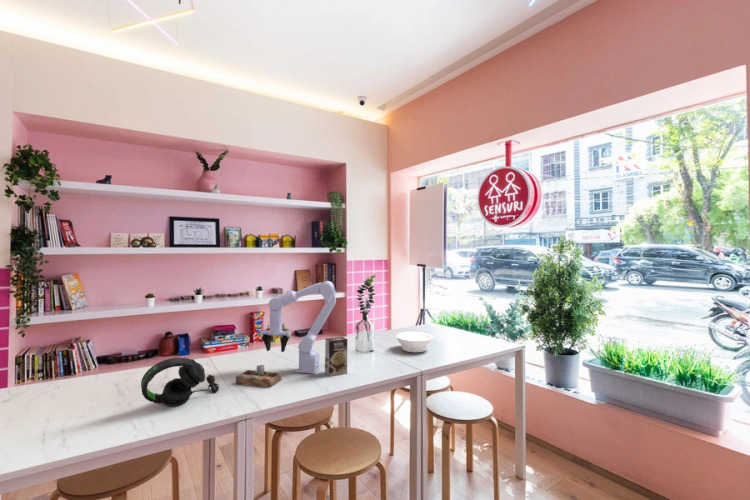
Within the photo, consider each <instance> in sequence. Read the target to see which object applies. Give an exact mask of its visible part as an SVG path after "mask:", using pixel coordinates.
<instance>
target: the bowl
mask: <svg viewBox="0 0 750 500" xmlns="http://www.w3.org/2000/svg"><path fill="white" fill-rule="evenodd" d="M395 337H396V340H397V342H398V343H399V344H400V345H401V348H402V350H403V351H405V352H409V353H422V352H423V353H424V352H425V351H426V350H427V348H428V346H429V344H430V343H431V342H432V340H433V337H434V336H433V335H431V334H429V333H426V332H419V331H405V332H400V333H397V334H396V336H395Z"/></svg>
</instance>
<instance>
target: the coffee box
mask: <svg viewBox="0 0 750 500" xmlns="http://www.w3.org/2000/svg"><path fill="white" fill-rule="evenodd" d="M324 339H325V344H324V346H325V347H324V348H325V349H324V356H325V357H324V373H325V374H326V375H327V376H328V377H334V376H340V375H344V374H345V375H346V374H348V338H346V337H343V336H336V337H328V338H324Z"/></svg>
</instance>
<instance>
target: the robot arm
mask: <svg viewBox="0 0 750 500" xmlns="http://www.w3.org/2000/svg"><path fill="white" fill-rule="evenodd" d="M310 294H318V295H319V294H320V295H321V296H322V297H323V299H324V305H323V307H322V308H321V311H320V312H319V314H318V315H317V317H316V319H315V320H314V322H313V324H312V326H311V327H310V329H309V330H308V332H307V334H305V335H304V336H303V337H302V338H301V341H300V342H299V344H298V368H297V369H296V370H295V373H303V374H304V373H305V374H316V373H317V372H318V371H319V370H320V369H321V366H320V365H321V364H320V353H319V352H316V351H315V348H314V347H313V346H314V345H315V340H316V338H317V337H318V335H319V333H320V332H321V329H322V328H323V326H324V325H325V323H326V321H327V319H328V318H329V316H330V315H331V312H332V311H333V309H334V308H335V306H336V304H337V300H336V299H337V297H336V295H337V294H336V288H335V286H334V283H333V282H332V281H330V280H324V281H323V282H317V283H314V284H311V285H309V286H307V287H304V288H302V289H300V290H297V291H294V290H290V289H289V290H287V291H286V292H285V293H283V294H278V295H277V296H275V297H273V298H271V299H270V300H269V302H268V307H269V330H262V331H260V335H261V339H262V341H263V343H264V346H265V348H266V351H267V352H269V351H270V350H271V345H272V343H271V342H272V341H271V340H272V338H273V337H272V336H274V337H279V340H280V350H281V351H280V352H281V353H284V352H285V351H286V346H287V343H288V342H289V339H290V337H291V335H292V332H291V331H284V330H283V307H286V306H290V305H292V304H294V303H297V301H298V299H300V298H302V297H304V296H308V295H310Z"/></svg>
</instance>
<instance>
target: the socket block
mask: <svg viewBox="0 0 750 500" xmlns="http://www.w3.org/2000/svg"><path fill="white" fill-rule="evenodd" d="M281 380H282V373H281V372H273V371H265V370H264V375H263V376H257V370H255V369H254V370H252V369H247V370H245V371H244V372H242V373H240V374H238V375H236V376H235V385H242V386H244V385H245V386H253V387H264V388H272V387H273V386H275V385H276V384H278V383H279V382H281Z"/></svg>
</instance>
